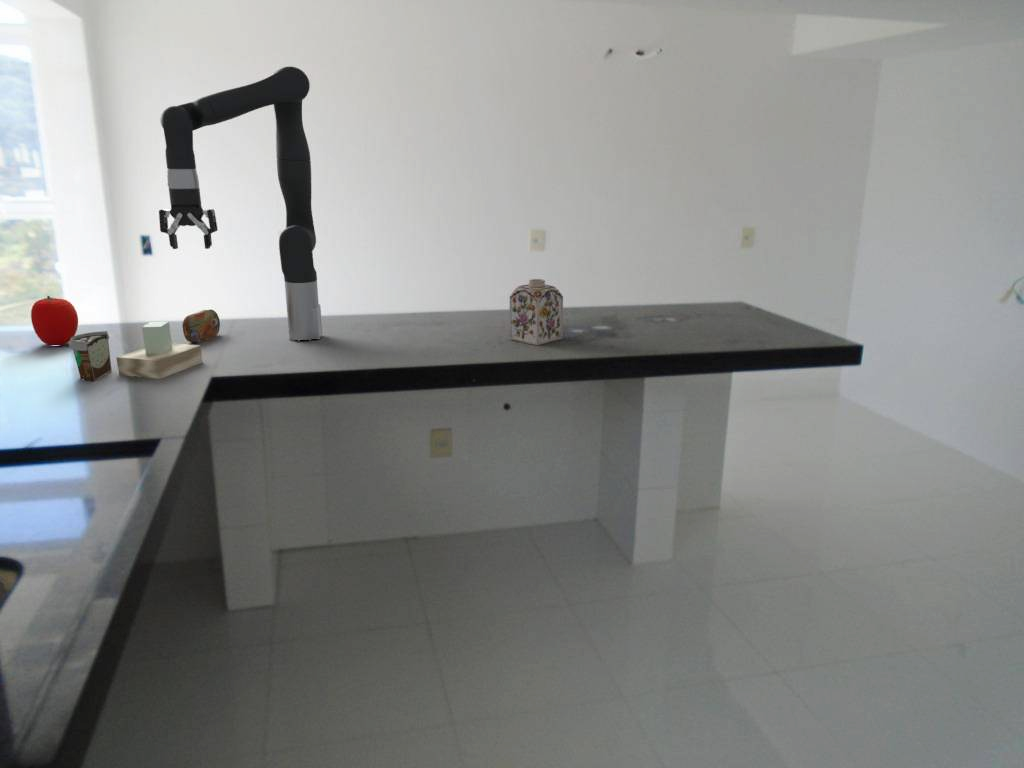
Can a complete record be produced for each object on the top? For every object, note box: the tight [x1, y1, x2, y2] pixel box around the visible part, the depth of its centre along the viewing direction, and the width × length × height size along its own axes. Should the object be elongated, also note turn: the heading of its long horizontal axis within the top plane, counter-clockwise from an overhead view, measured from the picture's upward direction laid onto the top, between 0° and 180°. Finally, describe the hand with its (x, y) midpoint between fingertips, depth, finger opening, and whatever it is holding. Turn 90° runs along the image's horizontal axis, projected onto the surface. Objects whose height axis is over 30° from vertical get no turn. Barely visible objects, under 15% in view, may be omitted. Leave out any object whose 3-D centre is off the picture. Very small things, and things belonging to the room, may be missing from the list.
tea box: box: [141, 321, 173, 354], centre depth 186 cm, size 4×6×7 cm
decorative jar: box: [508, 278, 564, 346], centre depth 218 cm, size 12×12×18 cm
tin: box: [182, 309, 221, 344], centre depth 218 cm, size 15×3×8 cm, turn 168°
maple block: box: [115, 342, 203, 380], centre depth 188 cm, size 12×16×5 cm
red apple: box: [30, 295, 79, 346], centre depth 211 cm, size 13×11×14 cm
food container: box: [68, 330, 113, 382], centre depth 180 cm, size 12×6×10 cm, turn 5°
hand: (191, 248), depth 200 cm, fingers open, 8 cm apart
